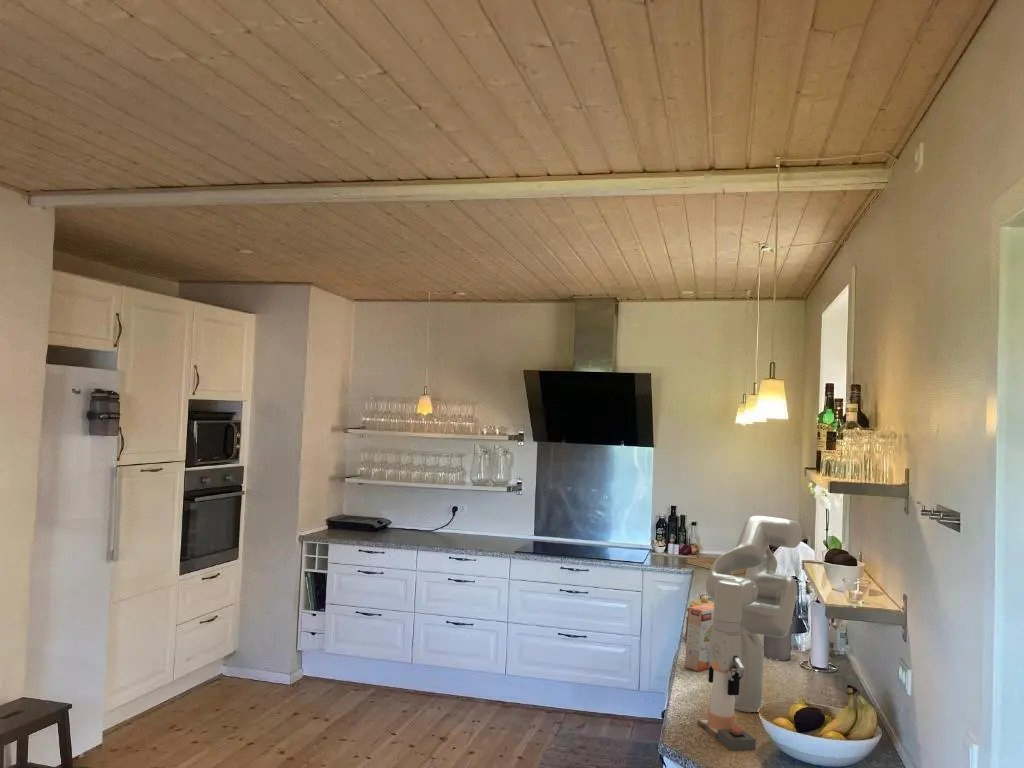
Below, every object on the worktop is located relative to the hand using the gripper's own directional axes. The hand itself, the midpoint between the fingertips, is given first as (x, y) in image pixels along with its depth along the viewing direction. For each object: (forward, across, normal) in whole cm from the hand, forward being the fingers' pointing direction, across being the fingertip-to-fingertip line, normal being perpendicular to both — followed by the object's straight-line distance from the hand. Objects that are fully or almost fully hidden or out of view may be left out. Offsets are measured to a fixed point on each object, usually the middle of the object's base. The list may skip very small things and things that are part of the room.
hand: (723, 688), depth 213 cm
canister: (+12, -79, +40) cm, 89 cm away
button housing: (+11, +9, -1) cm, 14 cm away
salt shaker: (+10, 0, 0) cm, 10 cm away
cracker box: (+12, -51, +24) cm, 57 cm away
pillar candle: (+12, -59, +60) cm, 85 cm away
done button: (+9, +9, -1) cm, 12 cm away
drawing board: (+11, 0, 0) cm, 11 cm away
